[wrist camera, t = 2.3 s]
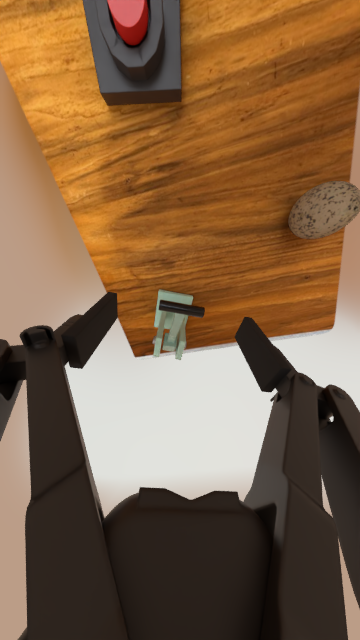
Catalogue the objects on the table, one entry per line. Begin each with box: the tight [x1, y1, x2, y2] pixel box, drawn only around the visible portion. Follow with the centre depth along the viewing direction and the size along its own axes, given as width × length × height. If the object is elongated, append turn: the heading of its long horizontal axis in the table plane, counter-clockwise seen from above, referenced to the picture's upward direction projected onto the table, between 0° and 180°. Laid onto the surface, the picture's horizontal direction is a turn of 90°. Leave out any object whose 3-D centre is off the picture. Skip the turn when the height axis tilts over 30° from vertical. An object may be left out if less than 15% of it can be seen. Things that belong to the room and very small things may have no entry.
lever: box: [158, 300, 205, 351], centre depth 22 cm, size 14×5×2 cm, turn 169°
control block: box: [83, 0, 181, 105], centre depth 16 cm, size 10×8×4 cm
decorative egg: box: [288, 181, 360, 239], centre depth 22 cm, size 7×7×10 cm
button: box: [107, 0, 148, 46], centre depth 14 cm, size 4×4×2 cm
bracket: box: [153, 289, 193, 360], centre depth 31 cm, size 10×8×14 cm
